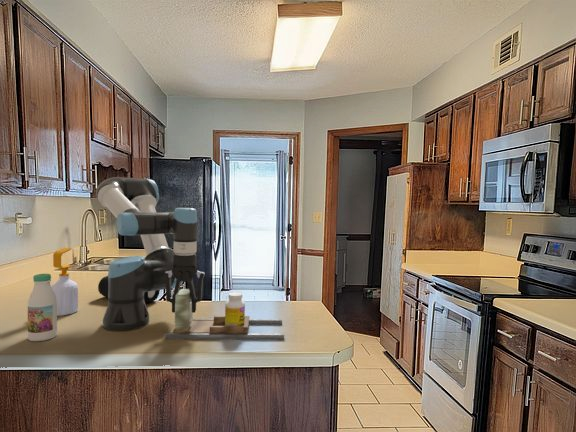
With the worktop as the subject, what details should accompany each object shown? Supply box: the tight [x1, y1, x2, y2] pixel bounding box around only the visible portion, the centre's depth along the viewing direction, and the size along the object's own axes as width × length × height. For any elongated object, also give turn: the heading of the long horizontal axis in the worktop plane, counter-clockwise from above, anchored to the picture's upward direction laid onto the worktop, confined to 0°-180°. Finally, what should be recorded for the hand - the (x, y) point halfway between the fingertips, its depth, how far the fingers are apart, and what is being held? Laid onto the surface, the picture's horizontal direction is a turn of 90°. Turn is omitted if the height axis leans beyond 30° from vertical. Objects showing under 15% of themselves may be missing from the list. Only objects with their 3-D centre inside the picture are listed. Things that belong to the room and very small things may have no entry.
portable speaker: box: [97, 275, 161, 304], centre depth 159 cm, size 26×10×10 cm, turn 73°
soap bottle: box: [51, 247, 79, 317], centre depth 140 cm, size 9×9×25 cm
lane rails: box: [165, 318, 285, 340], centre depth 126 cm, size 38×15×2 cm, turn 94°
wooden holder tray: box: [171, 288, 250, 333], centre depth 126 cm, size 24×11×13 cm, turn 94°
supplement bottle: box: [224, 291, 246, 326], centre depth 126 cm, size 7×7×13 cm
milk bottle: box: [27, 273, 58, 342], centre depth 116 cm, size 8×8×20 cm
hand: (183, 321), depth 125 cm, fingers closed on wooden holder tray, 4 cm apart
